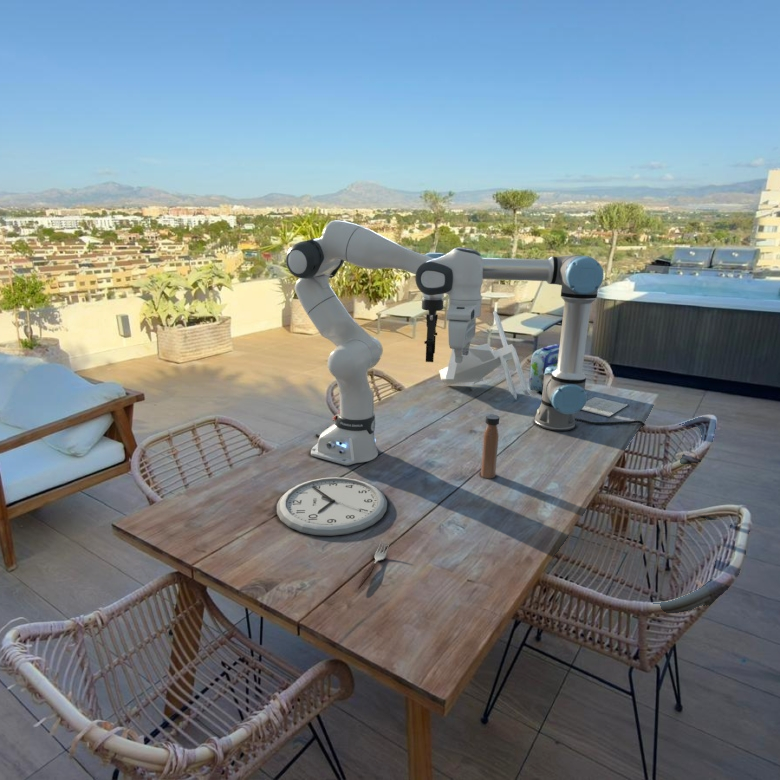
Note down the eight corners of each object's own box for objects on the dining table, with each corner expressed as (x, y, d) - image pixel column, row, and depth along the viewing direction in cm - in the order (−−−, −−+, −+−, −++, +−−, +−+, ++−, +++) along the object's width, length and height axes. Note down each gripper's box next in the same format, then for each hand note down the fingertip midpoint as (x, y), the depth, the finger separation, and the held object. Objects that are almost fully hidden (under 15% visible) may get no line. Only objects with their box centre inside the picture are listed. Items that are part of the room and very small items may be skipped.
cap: (482, 421, 157) (483, 415, 157) (493, 419, 159) (493, 413, 159) (491, 426, 154) (491, 419, 154) (501, 424, 156) (502, 417, 155)
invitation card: (608, 416, 214) (573, 407, 224) (608, 416, 214) (573, 408, 224) (628, 404, 229) (594, 396, 238) (628, 405, 229) (594, 397, 238)
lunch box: (545, 397, 238) (550, 352, 231) (524, 391, 245) (529, 348, 239) (572, 386, 255) (578, 344, 249) (552, 381, 262) (557, 340, 256)
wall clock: (392, 527, 129) (268, 531, 127) (391, 533, 130) (269, 537, 127) (383, 473, 158) (282, 475, 155) (383, 478, 158) (282, 480, 156)
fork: (352, 589, 110) (352, 581, 109) (380, 547, 124) (380, 540, 123) (364, 592, 109) (364, 583, 108) (390, 550, 123) (390, 542, 123)
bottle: (477, 473, 163) (482, 416, 157) (489, 470, 165) (493, 414, 159) (486, 479, 159) (491, 421, 153) (498, 476, 161) (503, 419, 155)
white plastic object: (461, 429, 252) (437, 405, 227) (444, 352, 274) (420, 323, 250) (535, 404, 240) (518, 377, 215) (510, 326, 262) (492, 293, 237)
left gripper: (460, 303, 153) (458, 349, 157) (445, 314, 135) (442, 365, 139) (482, 304, 151) (479, 351, 155) (469, 315, 133) (466, 368, 137)
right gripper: (424, 293, 195) (422, 349, 202) (419, 302, 172) (417, 365, 178) (444, 294, 195) (441, 350, 201) (442, 303, 171) (439, 366, 177)
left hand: (462, 358), depth 147 cm, fingers open, 8 cm apart
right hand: (430, 357), depth 190 cm, fingers open, 13 cm apart
